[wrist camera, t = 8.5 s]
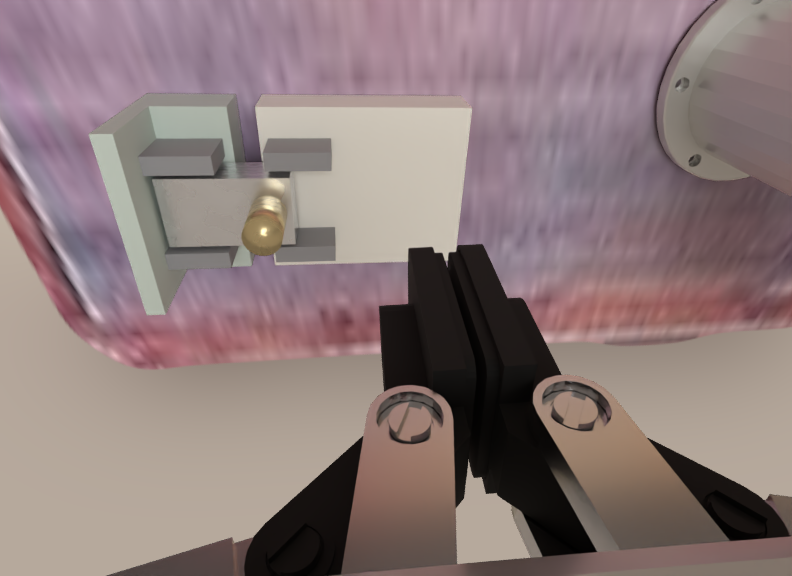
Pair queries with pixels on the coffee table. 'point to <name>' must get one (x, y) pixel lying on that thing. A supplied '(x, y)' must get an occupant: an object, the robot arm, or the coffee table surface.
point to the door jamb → (166, 156)
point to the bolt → (230, 208)
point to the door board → (368, 173)
